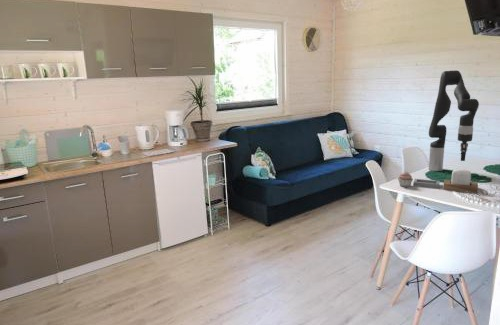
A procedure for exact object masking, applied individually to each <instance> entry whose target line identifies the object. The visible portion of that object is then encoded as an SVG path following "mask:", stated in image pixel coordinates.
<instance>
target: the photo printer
mask: <svg viewBox="0 0 500 325" xmlns="http://www.w3.org/2000/svg"><path fill="white" fill-rule="evenodd" d="M471 179H472V172H471V171H470V170H468V169H462V168H461V169H460V168H459V169H453V170H452V172H451V178H450V180H451V184H460V185H470V182H471Z"/></svg>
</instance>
